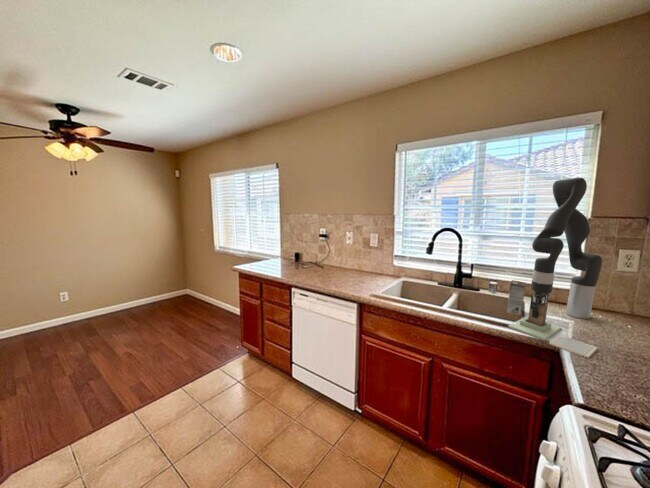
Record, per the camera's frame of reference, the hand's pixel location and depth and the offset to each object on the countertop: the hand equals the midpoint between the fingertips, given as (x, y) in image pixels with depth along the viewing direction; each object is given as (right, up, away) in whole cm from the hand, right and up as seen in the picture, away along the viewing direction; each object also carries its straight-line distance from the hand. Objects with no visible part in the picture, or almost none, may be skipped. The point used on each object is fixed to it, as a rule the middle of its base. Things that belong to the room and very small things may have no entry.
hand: (537, 316), depth 123 cm
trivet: (+3, -9, -15) cm, 17 cm away
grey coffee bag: (+4, -3, +20) cm, 21 cm away
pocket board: (0, -6, +1) cm, 6 cm away
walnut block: (0, -3, +1) cm, 3 cm away
